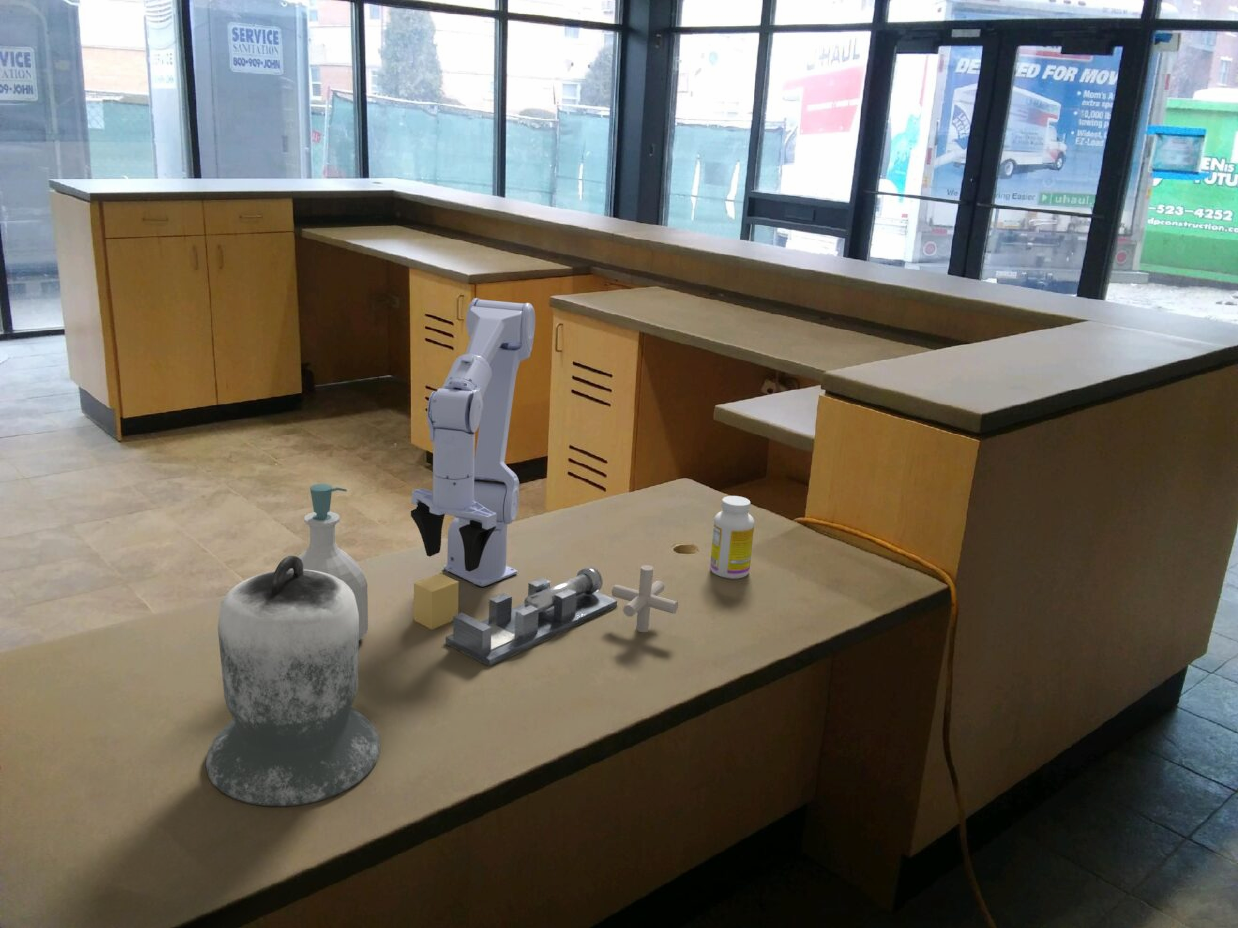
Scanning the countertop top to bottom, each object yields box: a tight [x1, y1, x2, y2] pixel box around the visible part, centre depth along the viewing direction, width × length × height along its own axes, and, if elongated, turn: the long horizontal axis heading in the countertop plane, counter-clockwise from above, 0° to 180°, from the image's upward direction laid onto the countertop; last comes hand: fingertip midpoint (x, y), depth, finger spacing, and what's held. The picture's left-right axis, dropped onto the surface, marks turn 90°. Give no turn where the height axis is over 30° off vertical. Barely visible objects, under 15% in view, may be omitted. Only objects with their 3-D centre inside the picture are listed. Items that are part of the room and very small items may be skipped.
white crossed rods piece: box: [611, 564, 679, 633], centre depth 158 cm, size 10×10×10 cm
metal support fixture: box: [445, 576, 618, 667], centre depth 158 cm, size 9×27×5 cm, turn 140°
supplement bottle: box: [709, 495, 755, 580], centre depth 179 cm, size 7×7×13 cm
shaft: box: [523, 566, 603, 613], centre depth 162 cm, size 4×14×4 cm, turn 140°
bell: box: [205, 555, 381, 807], centre depth 120 cm, size 19×19×25 cm
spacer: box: [413, 572, 459, 630], centre depth 157 cm, size 4×5×6 cm
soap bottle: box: [289, 483, 369, 641], centre depth 147 cm, size 10×10×23 cm
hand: (452, 561), depth 155 cm, fingers open, 7 cm apart
